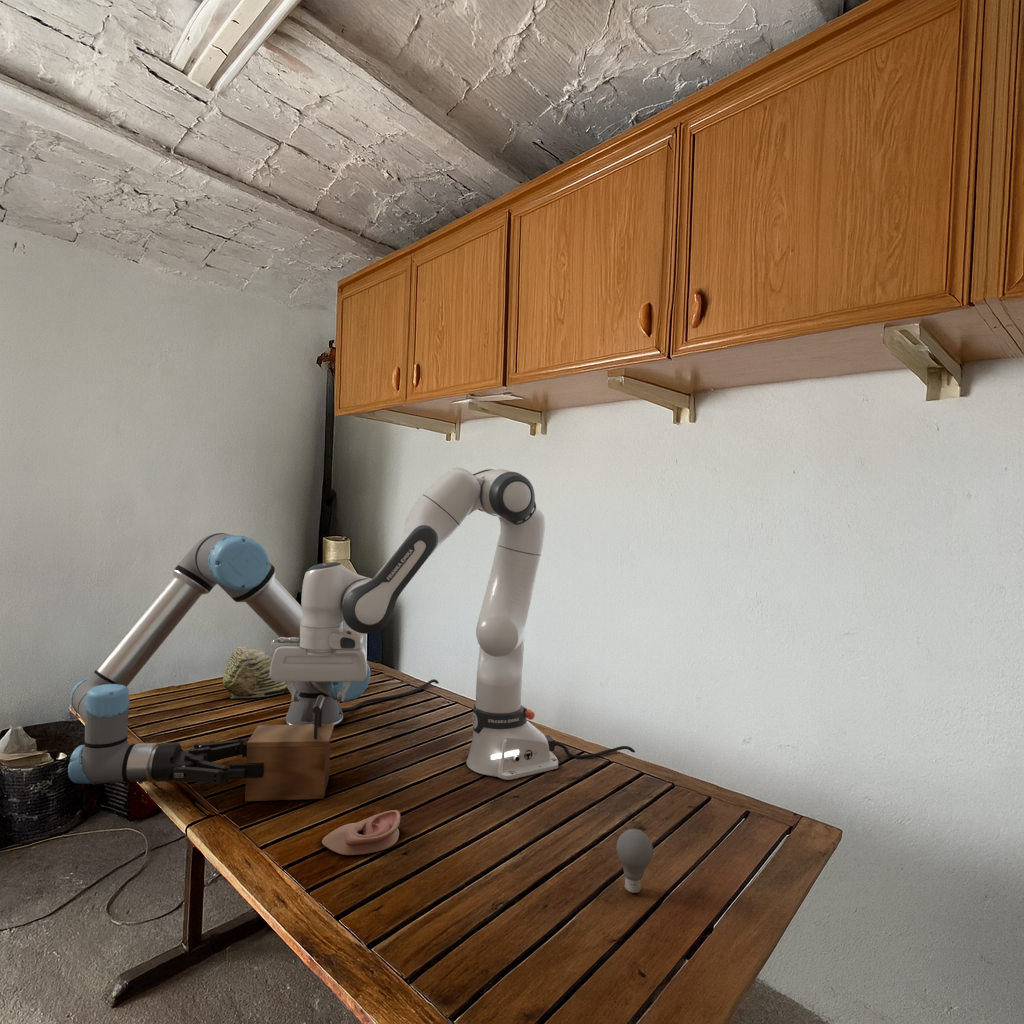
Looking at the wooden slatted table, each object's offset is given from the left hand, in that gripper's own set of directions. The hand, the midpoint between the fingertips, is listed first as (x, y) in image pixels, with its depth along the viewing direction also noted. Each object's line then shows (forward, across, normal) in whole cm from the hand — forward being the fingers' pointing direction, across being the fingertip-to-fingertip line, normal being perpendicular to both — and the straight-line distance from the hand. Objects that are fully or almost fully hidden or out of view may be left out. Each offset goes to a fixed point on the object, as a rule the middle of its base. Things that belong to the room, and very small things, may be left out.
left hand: (268, 759), depth 136 cm
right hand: (+10, 0, +12) cm, 16 cm away
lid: (+5, 0, +5) cm, 6 cm away
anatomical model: (+21, +22, -7) cm, 31 cm away
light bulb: (+66, +42, -7) cm, 79 cm away
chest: (+4, 0, -7) cm, 8 cm away
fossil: (-17, -66, -7) cm, 69 cm away
